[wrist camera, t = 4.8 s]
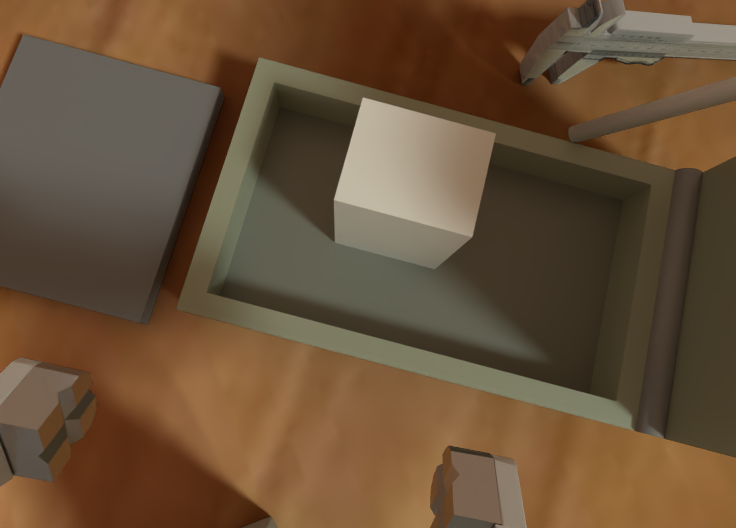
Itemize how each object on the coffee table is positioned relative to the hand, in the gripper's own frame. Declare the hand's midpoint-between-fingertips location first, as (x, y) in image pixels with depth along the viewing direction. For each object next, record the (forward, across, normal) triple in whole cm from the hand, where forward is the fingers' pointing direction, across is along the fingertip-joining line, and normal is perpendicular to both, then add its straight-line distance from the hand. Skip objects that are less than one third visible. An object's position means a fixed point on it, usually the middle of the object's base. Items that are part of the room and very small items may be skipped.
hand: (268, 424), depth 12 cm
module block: (+15, -3, +2) cm, 15 cm away
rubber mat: (+14, +12, +4) cm, 19 cm away
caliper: (+24, -17, -6) cm, 30 cm away
